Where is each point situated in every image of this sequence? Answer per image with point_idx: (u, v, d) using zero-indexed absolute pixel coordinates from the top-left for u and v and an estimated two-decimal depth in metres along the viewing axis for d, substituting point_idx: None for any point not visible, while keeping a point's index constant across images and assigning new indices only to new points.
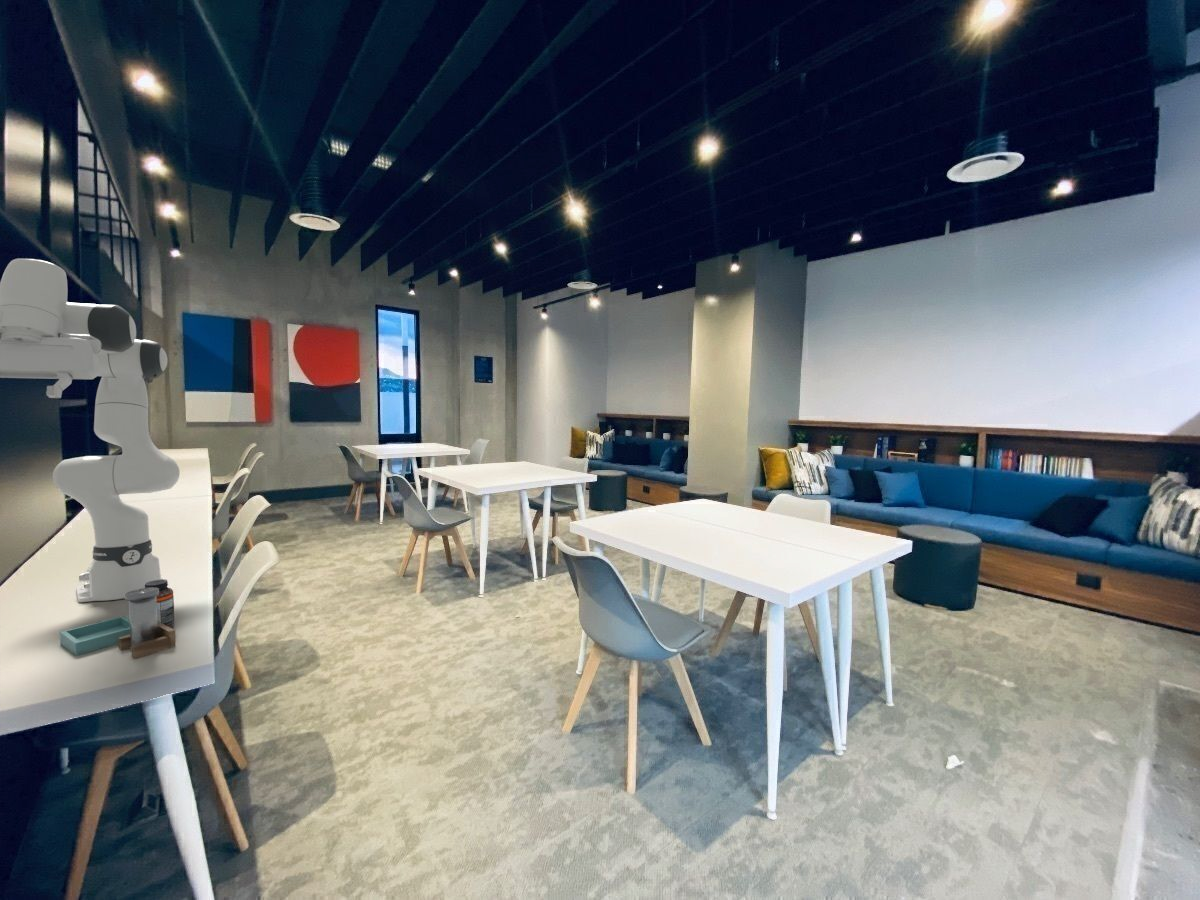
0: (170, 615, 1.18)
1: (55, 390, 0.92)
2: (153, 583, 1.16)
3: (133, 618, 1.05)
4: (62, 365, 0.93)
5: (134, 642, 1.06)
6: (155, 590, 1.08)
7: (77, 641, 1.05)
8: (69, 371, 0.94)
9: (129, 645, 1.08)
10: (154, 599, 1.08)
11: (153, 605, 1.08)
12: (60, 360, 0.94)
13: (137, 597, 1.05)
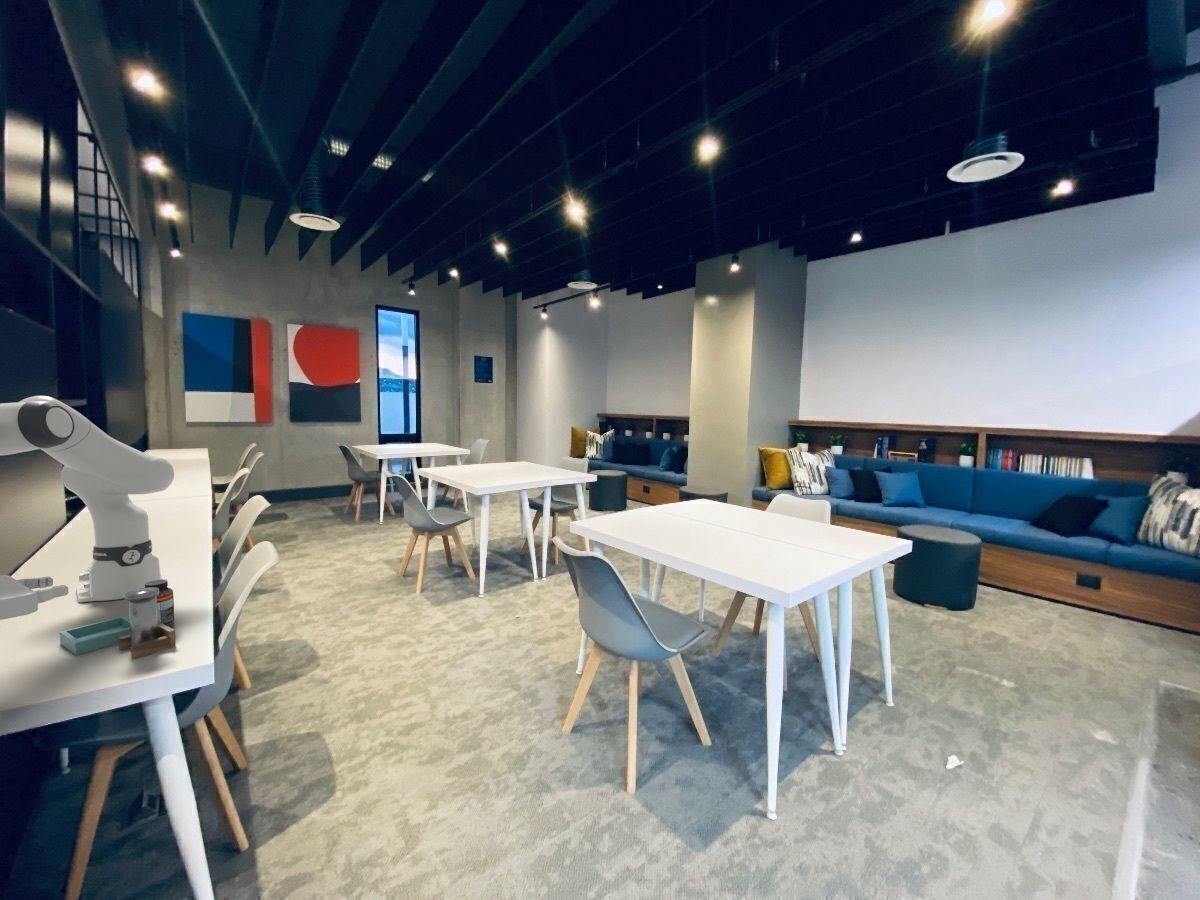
0: (170, 616, 1.18)
1: None
2: (153, 583, 1.16)
3: (133, 618, 1.05)
4: None
5: (134, 642, 1.06)
6: (155, 590, 1.08)
7: (77, 641, 1.05)
8: None
9: (129, 645, 1.08)
10: (154, 599, 1.08)
11: (153, 605, 1.08)
12: None
13: (137, 597, 1.05)
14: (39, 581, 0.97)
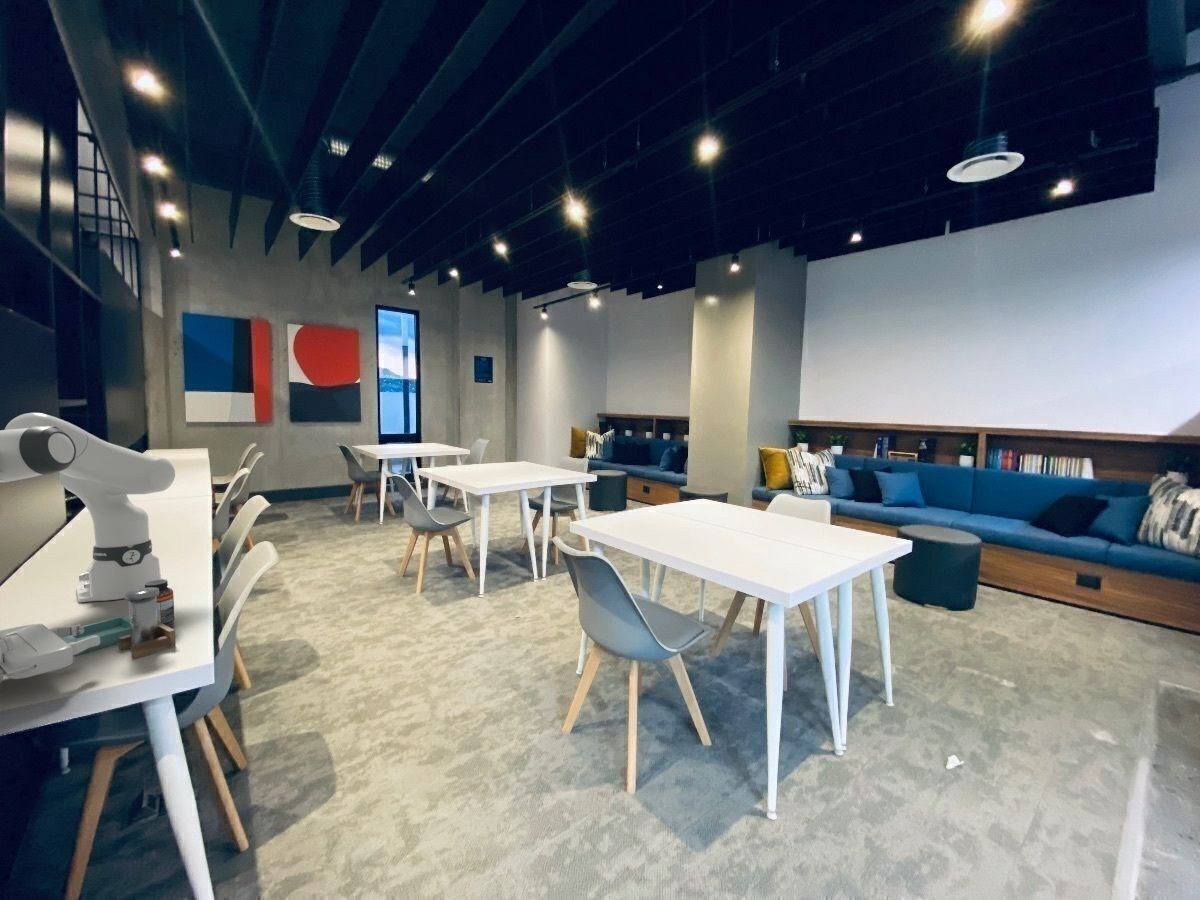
0: (170, 616, 1.18)
1: None
2: (153, 583, 1.16)
3: (133, 618, 1.05)
4: None
5: (134, 642, 1.06)
6: (155, 590, 1.08)
7: None
8: None
9: (129, 645, 1.08)
10: (154, 599, 1.08)
11: (153, 605, 1.08)
12: None
13: (137, 597, 1.05)
14: (71, 629, 1.01)
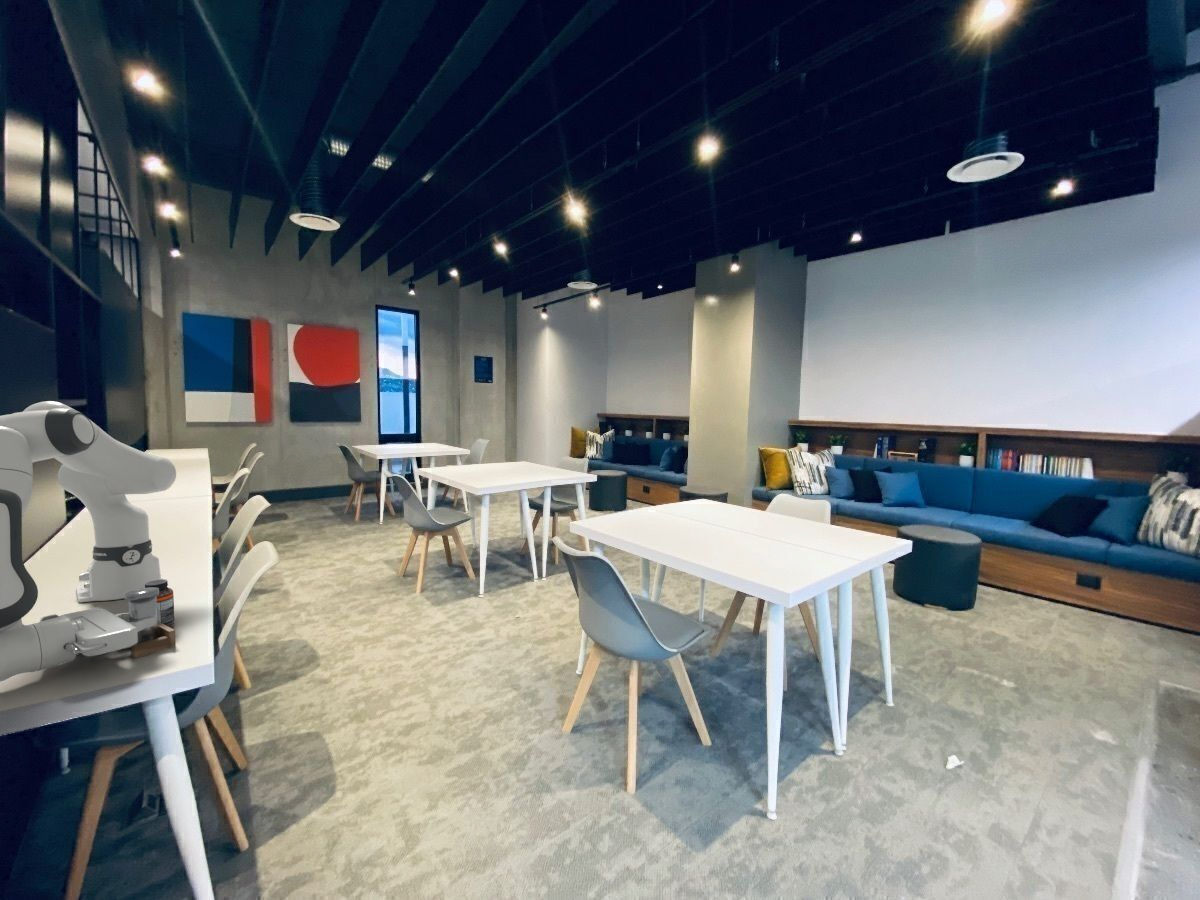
0: (170, 616, 1.18)
1: None
2: (153, 583, 1.16)
3: (133, 618, 1.05)
4: None
5: None
6: (155, 590, 1.08)
7: None
8: None
9: None
10: (154, 599, 1.08)
11: (153, 605, 1.08)
12: None
13: (137, 597, 1.05)
14: None
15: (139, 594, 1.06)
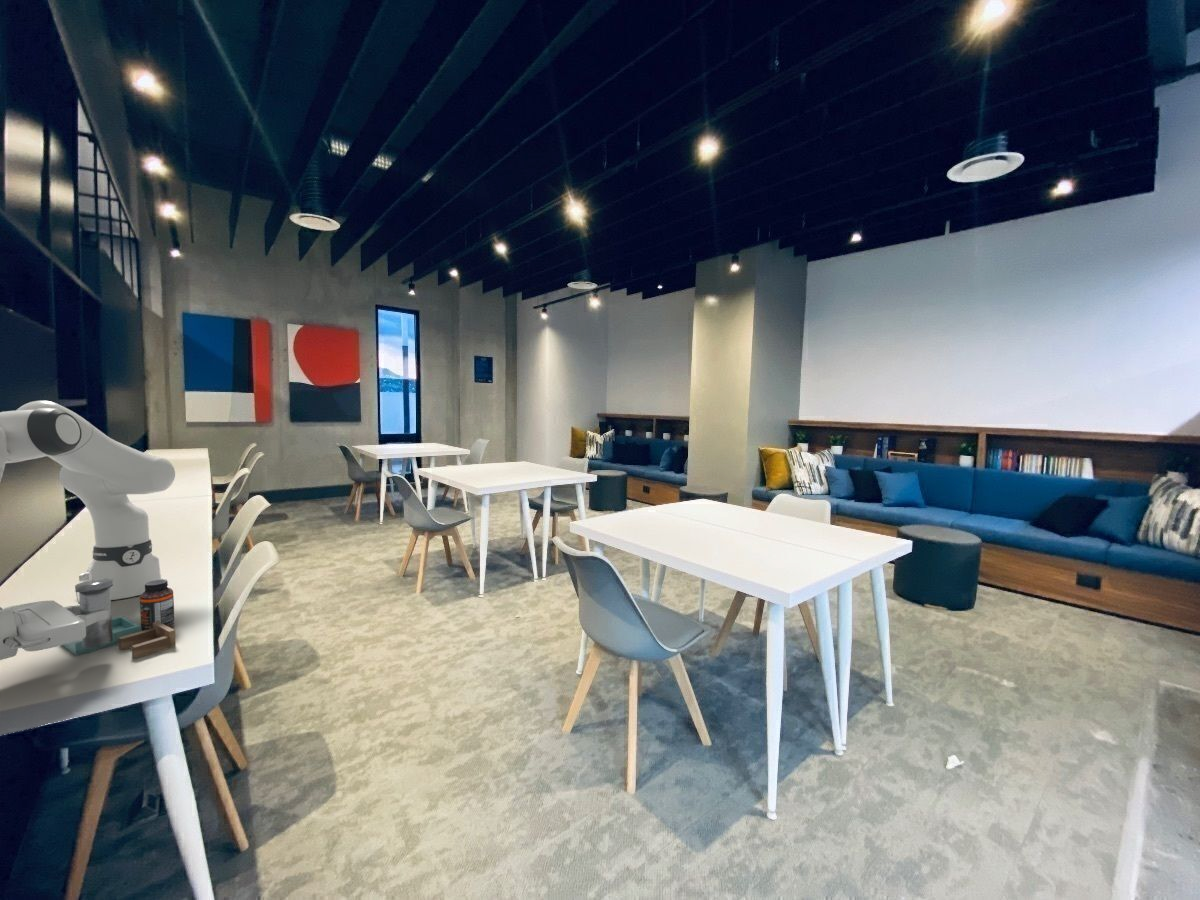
0: (170, 616, 1.18)
1: None
2: (153, 583, 1.16)
3: (84, 611, 0.99)
4: None
5: None
6: (108, 581, 1.02)
7: (77, 641, 1.05)
8: None
9: (129, 645, 1.08)
10: (107, 591, 1.01)
11: (106, 597, 1.01)
12: None
13: (88, 589, 0.98)
14: None
15: (90, 585, 0.99)
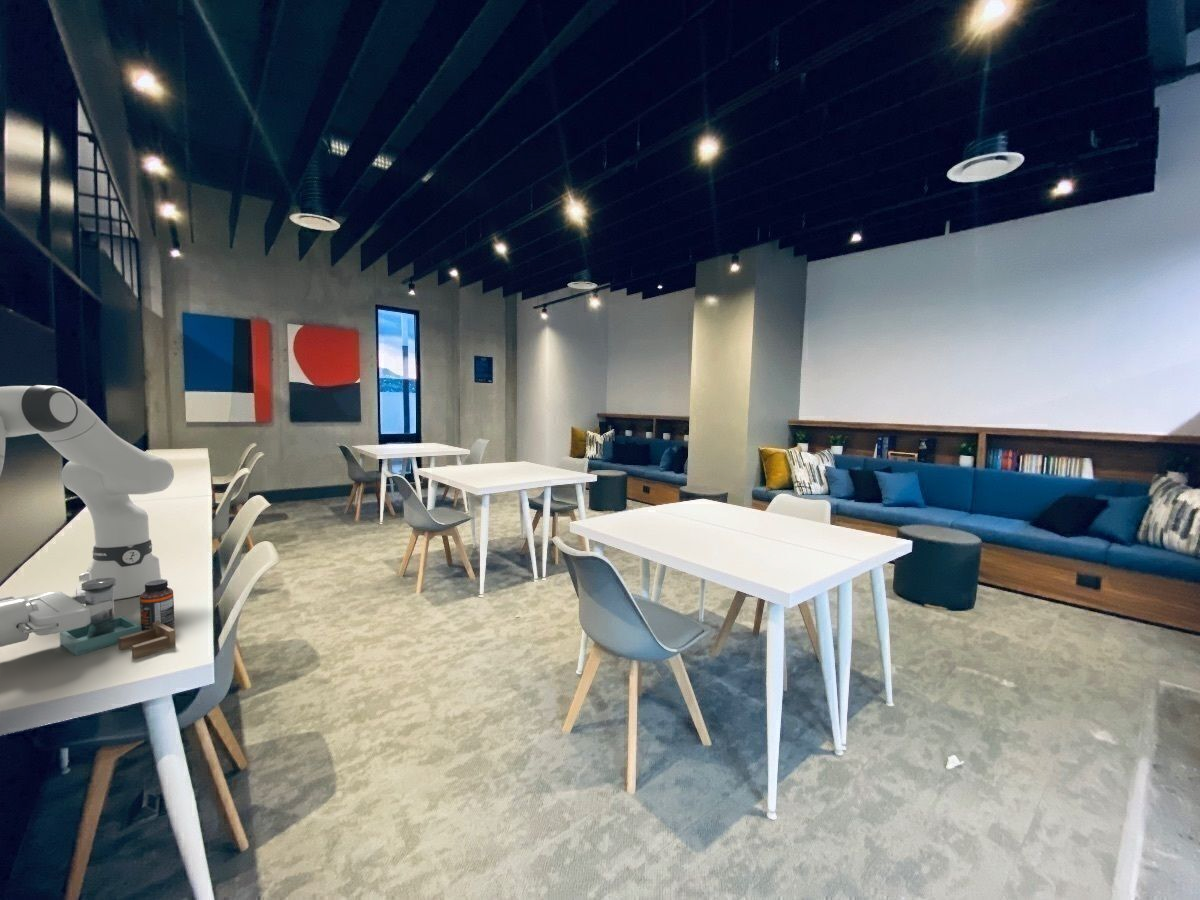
0: (170, 616, 1.18)
1: None
2: (153, 583, 1.16)
3: None
4: None
5: (90, 630, 1.09)
6: (112, 581, 1.11)
7: (77, 641, 1.05)
8: None
9: (129, 645, 1.08)
10: (111, 589, 1.11)
11: (109, 595, 1.11)
12: None
13: (93, 587, 1.08)
14: None
15: (95, 584, 1.09)
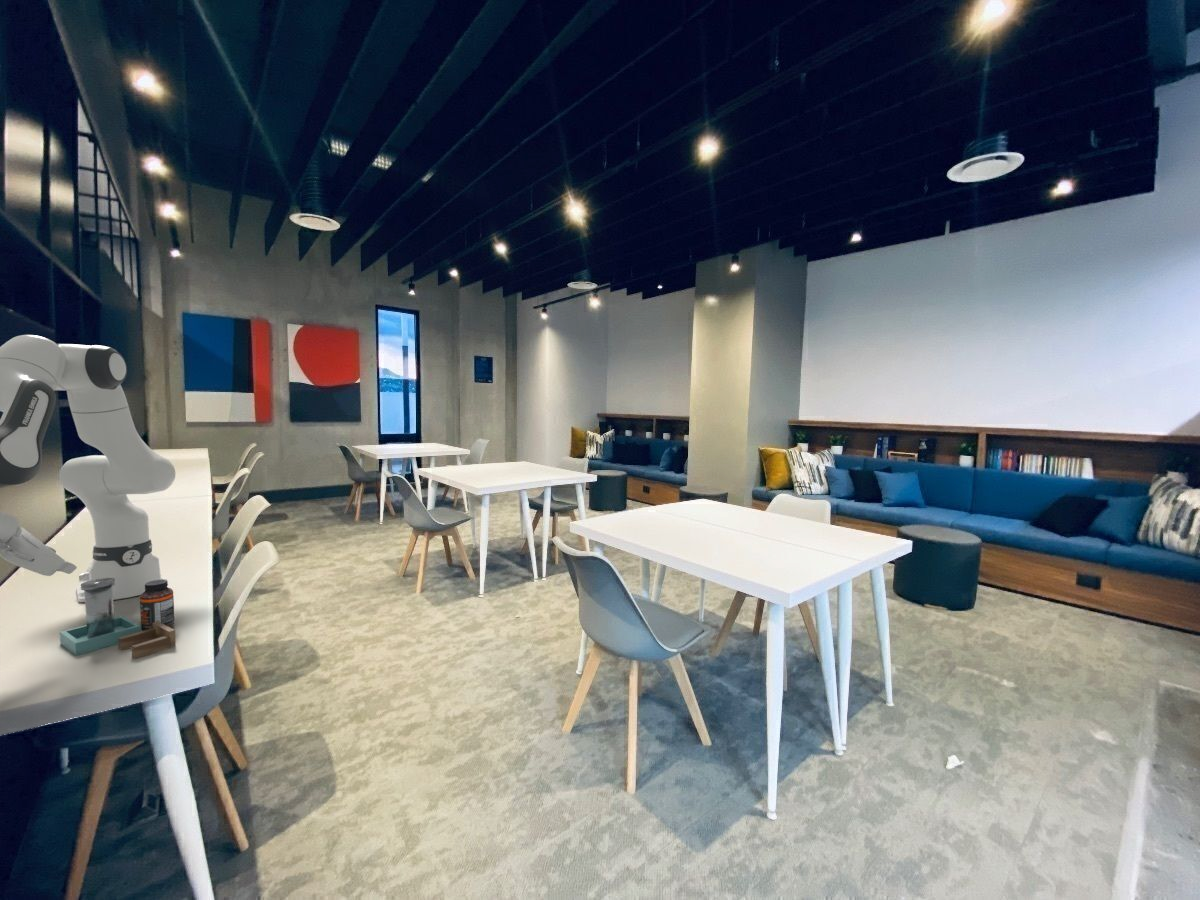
0: (170, 616, 1.18)
1: (65, 572, 1.02)
2: (153, 583, 1.16)
3: (88, 608, 1.09)
4: None
5: (90, 630, 1.09)
6: (111, 580, 1.12)
7: (77, 641, 1.05)
8: None
9: (129, 645, 1.08)
10: (110, 589, 1.11)
11: (109, 595, 1.11)
12: None
13: (92, 587, 1.08)
14: None
15: (94, 584, 1.09)
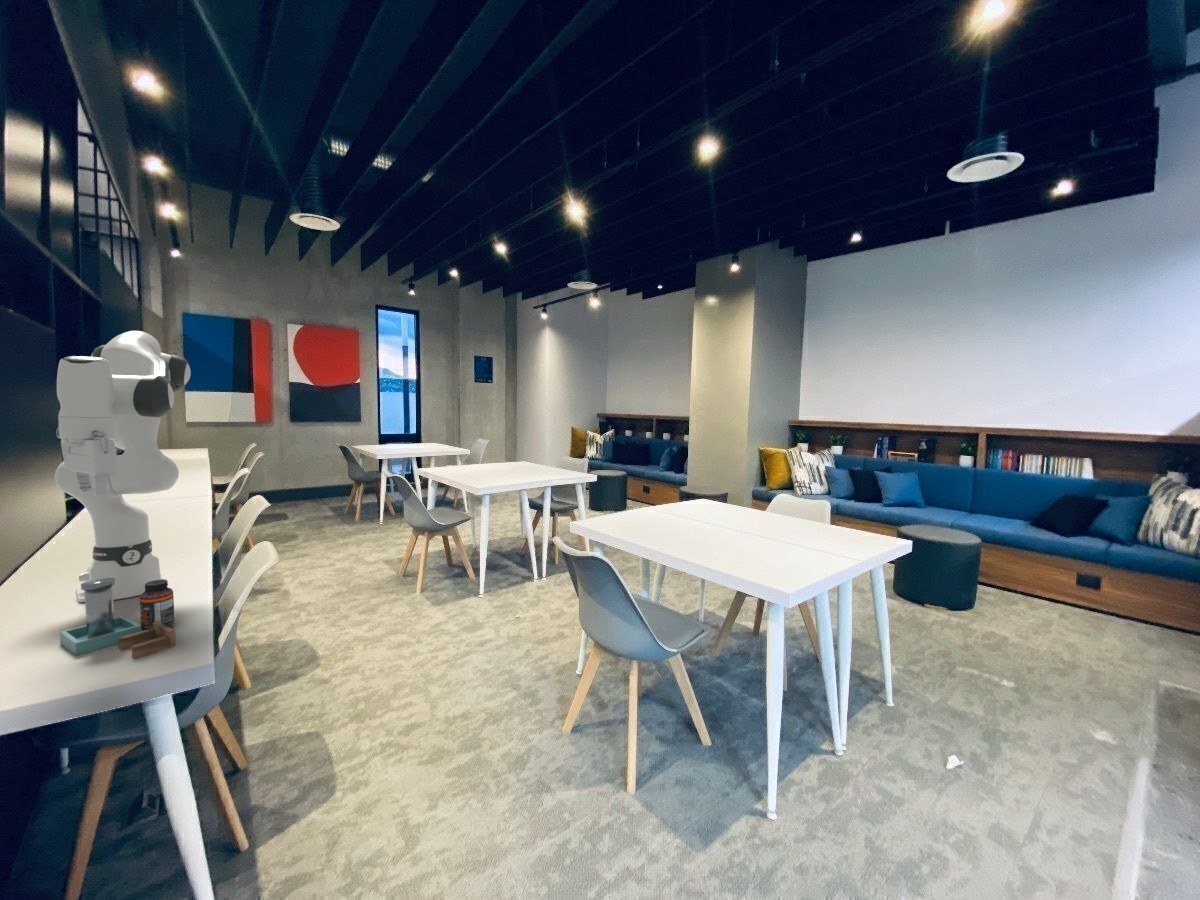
0: (170, 616, 1.18)
1: (94, 492, 1.07)
2: (153, 583, 1.16)
3: (88, 607, 1.09)
4: (88, 470, 1.05)
5: (90, 630, 1.09)
6: (111, 580, 1.12)
7: (77, 641, 1.05)
8: (93, 474, 1.05)
9: (129, 645, 1.08)
10: (110, 589, 1.11)
11: (109, 595, 1.11)
12: (87, 464, 1.05)
13: (92, 587, 1.08)
14: (87, 483, 1.13)
15: (94, 584, 1.09)
